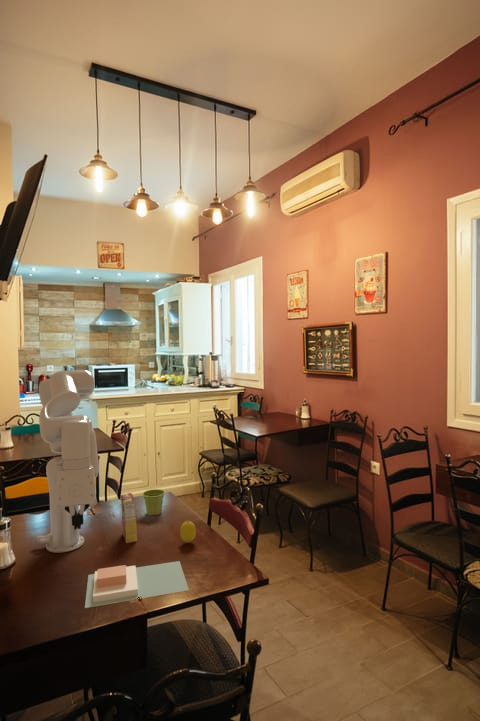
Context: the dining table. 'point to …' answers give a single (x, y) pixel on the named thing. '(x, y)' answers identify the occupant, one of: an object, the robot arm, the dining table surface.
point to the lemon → (188, 531)
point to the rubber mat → (147, 583)
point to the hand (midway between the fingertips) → (77, 527)
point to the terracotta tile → (111, 576)
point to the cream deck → (117, 587)
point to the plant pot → (153, 501)
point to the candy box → (129, 517)
